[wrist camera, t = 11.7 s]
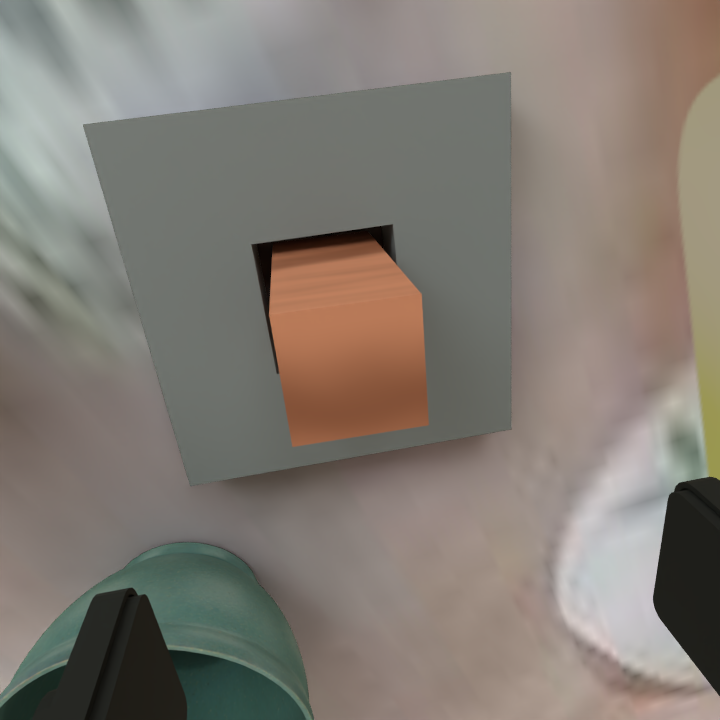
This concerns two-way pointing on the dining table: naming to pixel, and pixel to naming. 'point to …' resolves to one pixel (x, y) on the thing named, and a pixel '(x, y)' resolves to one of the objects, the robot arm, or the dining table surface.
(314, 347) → the peg
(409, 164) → the socket block
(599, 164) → the dining table surface
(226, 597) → the green bowl
